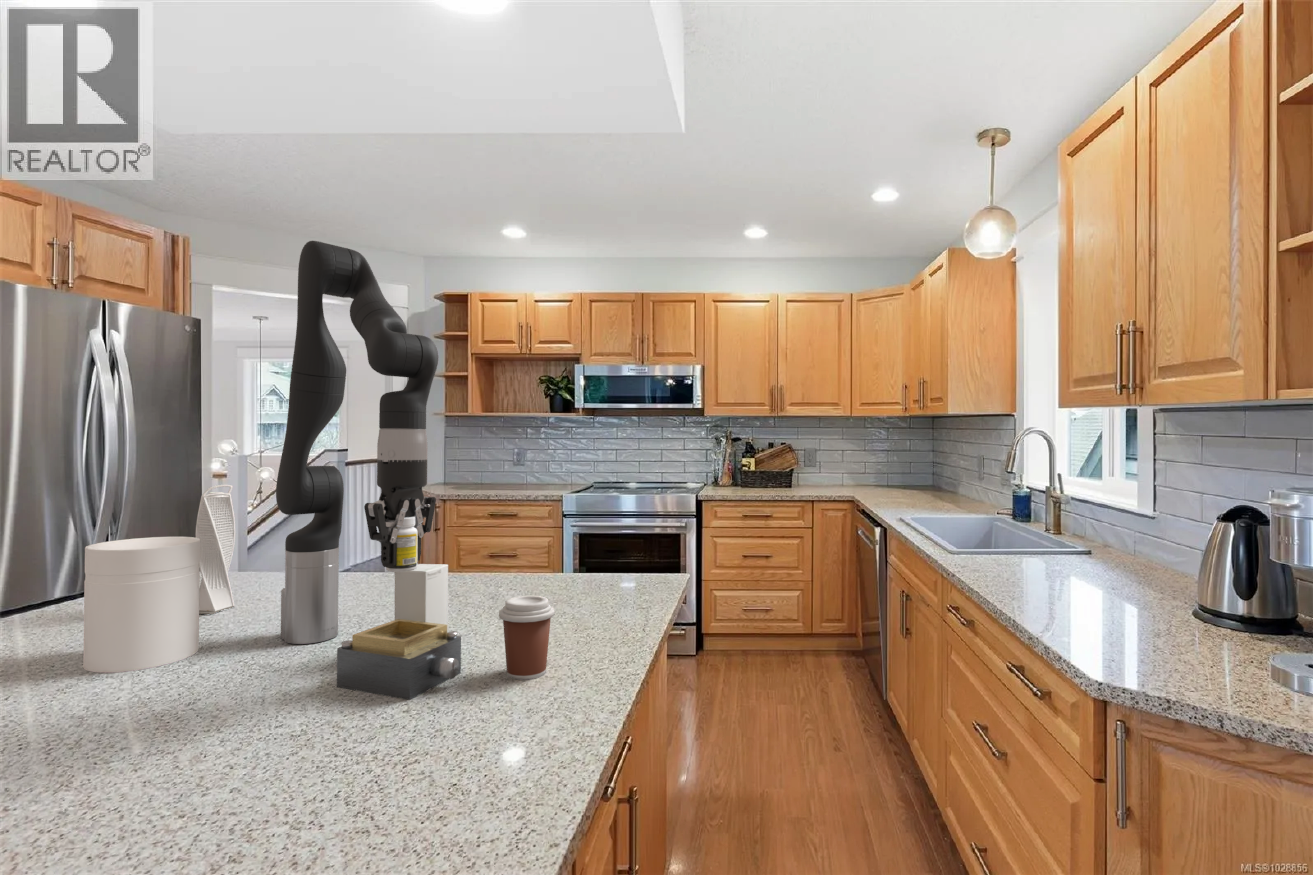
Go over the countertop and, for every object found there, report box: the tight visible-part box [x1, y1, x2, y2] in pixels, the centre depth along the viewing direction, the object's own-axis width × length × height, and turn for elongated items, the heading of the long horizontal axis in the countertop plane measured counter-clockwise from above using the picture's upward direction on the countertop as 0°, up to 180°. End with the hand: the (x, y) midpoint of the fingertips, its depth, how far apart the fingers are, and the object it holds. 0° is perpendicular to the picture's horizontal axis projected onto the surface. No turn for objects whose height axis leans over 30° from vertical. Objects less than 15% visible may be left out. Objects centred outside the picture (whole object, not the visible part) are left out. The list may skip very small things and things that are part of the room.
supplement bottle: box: [385, 516, 419, 573], centre depth 105 cm, size 5×5×8 cm
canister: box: [82, 536, 201, 674], centre depth 115 cm, size 16×16×20 cm
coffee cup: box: [498, 594, 556, 681], centre depth 108 cm, size 9×9×12 cm
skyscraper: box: [195, 484, 236, 615], centre depth 147 cm, size 8×8×28 cm
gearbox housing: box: [336, 619, 462, 701], centre depth 104 cm, size 17×12×8 cm
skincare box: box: [393, 563, 449, 633], centre depth 118 cm, size 8×7×16 cm
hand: (401, 563), depth 105 cm, fingers closed on supplement bottle, 4 cm apart
